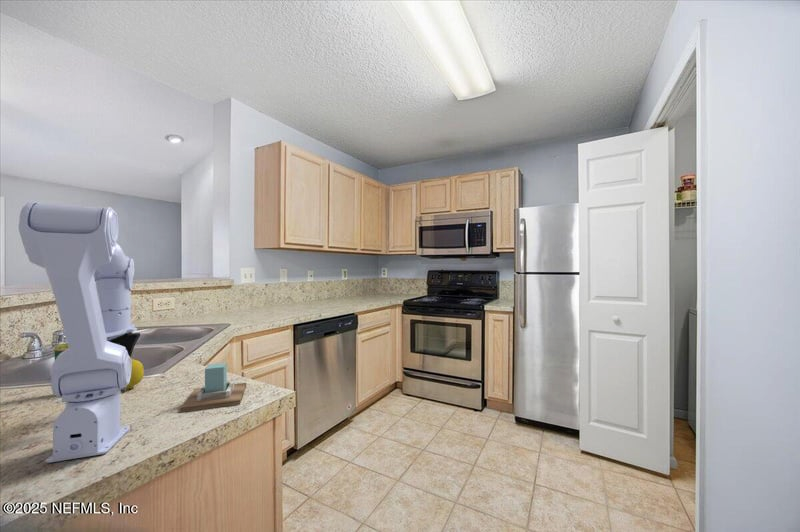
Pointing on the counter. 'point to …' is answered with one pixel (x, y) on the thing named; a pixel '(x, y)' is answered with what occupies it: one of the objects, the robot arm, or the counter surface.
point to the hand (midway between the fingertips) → (113, 371)
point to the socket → (214, 397)
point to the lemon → (136, 373)
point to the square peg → (216, 377)
